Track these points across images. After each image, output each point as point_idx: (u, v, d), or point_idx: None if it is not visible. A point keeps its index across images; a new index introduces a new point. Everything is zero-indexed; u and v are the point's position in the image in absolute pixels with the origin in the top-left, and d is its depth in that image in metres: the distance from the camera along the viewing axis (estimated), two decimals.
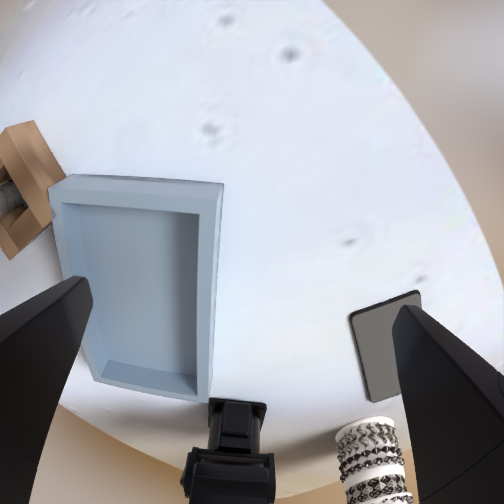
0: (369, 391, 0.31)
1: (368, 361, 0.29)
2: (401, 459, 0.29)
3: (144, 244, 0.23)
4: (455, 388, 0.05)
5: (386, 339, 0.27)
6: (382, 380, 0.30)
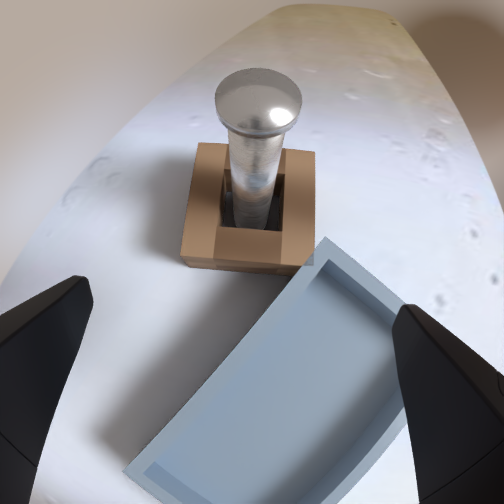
0: None
1: None
2: None
3: (346, 361, 0.20)
4: (455, 388, 0.05)
5: None
6: None
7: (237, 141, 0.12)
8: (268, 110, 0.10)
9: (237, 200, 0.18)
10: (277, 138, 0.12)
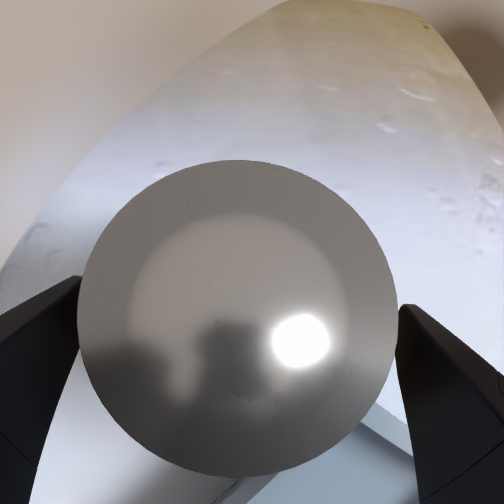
0: None
1: None
2: None
3: None
4: (455, 388, 0.05)
5: None
6: None
7: None
8: (272, 394, 0.03)
9: None
10: None
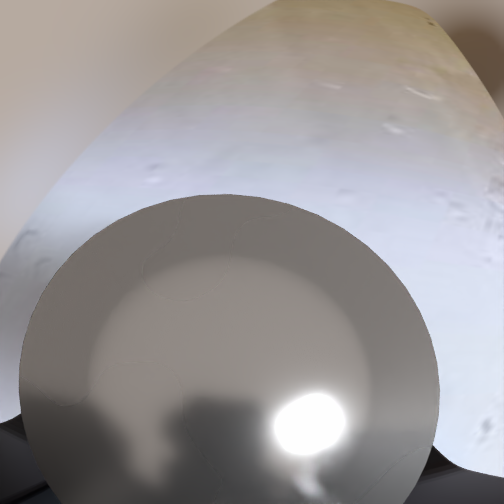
0: None
1: None
2: None
3: None
4: None
5: None
6: None
7: None
8: None
9: None
10: None
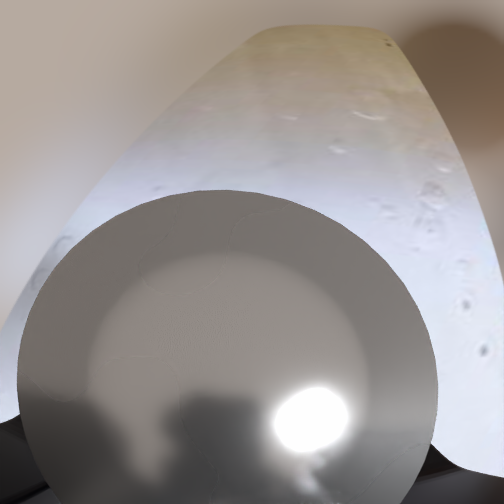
0: None
1: None
2: None
3: None
4: None
5: None
6: None
7: None
8: None
9: None
10: None
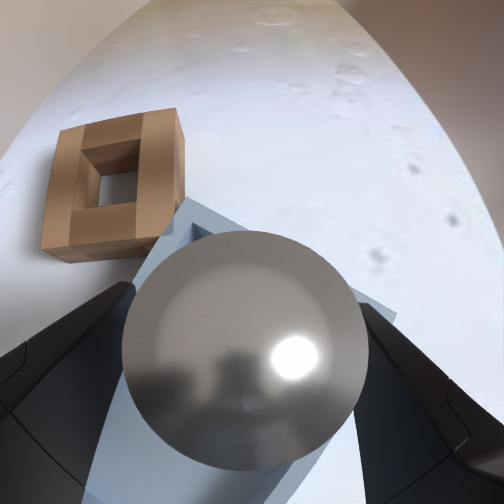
0: None
1: None
2: None
3: None
4: (397, 395, 0.05)
5: None
6: None
7: None
8: (273, 410, 0.04)
9: None
10: None
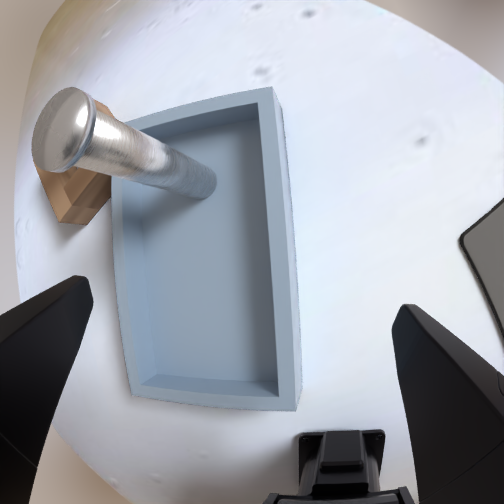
0: None
1: None
2: None
3: None
4: (455, 388, 0.05)
5: None
6: None
7: (81, 167, 0.11)
8: (65, 133, 0.09)
9: None
10: (104, 137, 0.10)
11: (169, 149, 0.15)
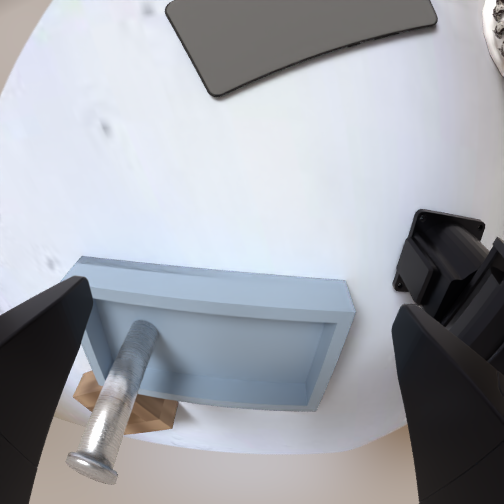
0: (404, 28, 0.13)
1: (317, 42, 0.14)
2: None
3: None
4: (455, 388, 0.05)
5: (261, 24, 0.14)
6: (372, 8, 0.13)
7: (116, 456, 0.15)
8: (93, 471, 0.13)
9: (140, 384, 0.20)
10: (96, 446, 0.14)
11: (109, 379, 0.18)
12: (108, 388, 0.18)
